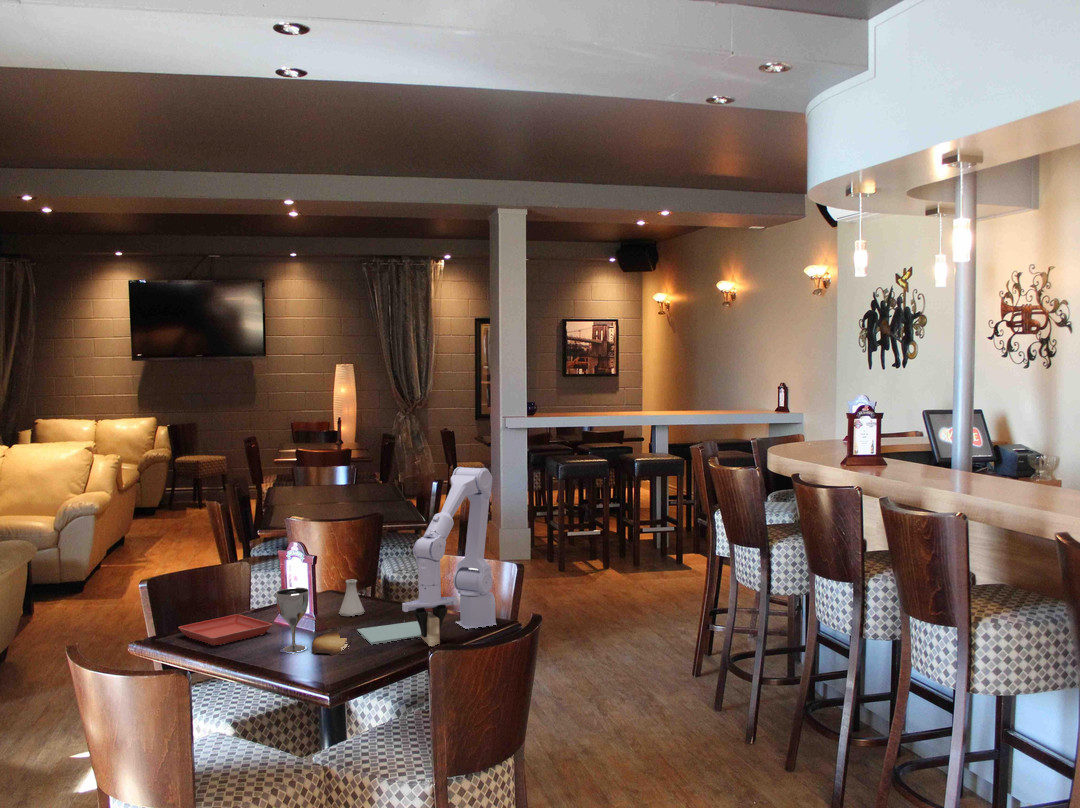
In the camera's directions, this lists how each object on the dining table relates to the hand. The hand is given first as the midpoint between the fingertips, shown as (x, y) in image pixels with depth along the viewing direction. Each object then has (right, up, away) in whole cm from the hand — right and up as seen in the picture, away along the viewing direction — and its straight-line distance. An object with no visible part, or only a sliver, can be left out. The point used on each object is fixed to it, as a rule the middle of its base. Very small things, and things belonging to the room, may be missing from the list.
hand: (430, 635), depth 231 cm
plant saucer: (-57, -3, +9) cm, 57 cm away
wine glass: (-34, -3, -5) cm, 35 cm away
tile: (0, -2, 0) cm, 2 cm away
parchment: (-26, -3, +2) cm, 26 cm away
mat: (-11, -2, +8) cm, 14 cm away
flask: (-27, -2, +30) cm, 41 cm away
